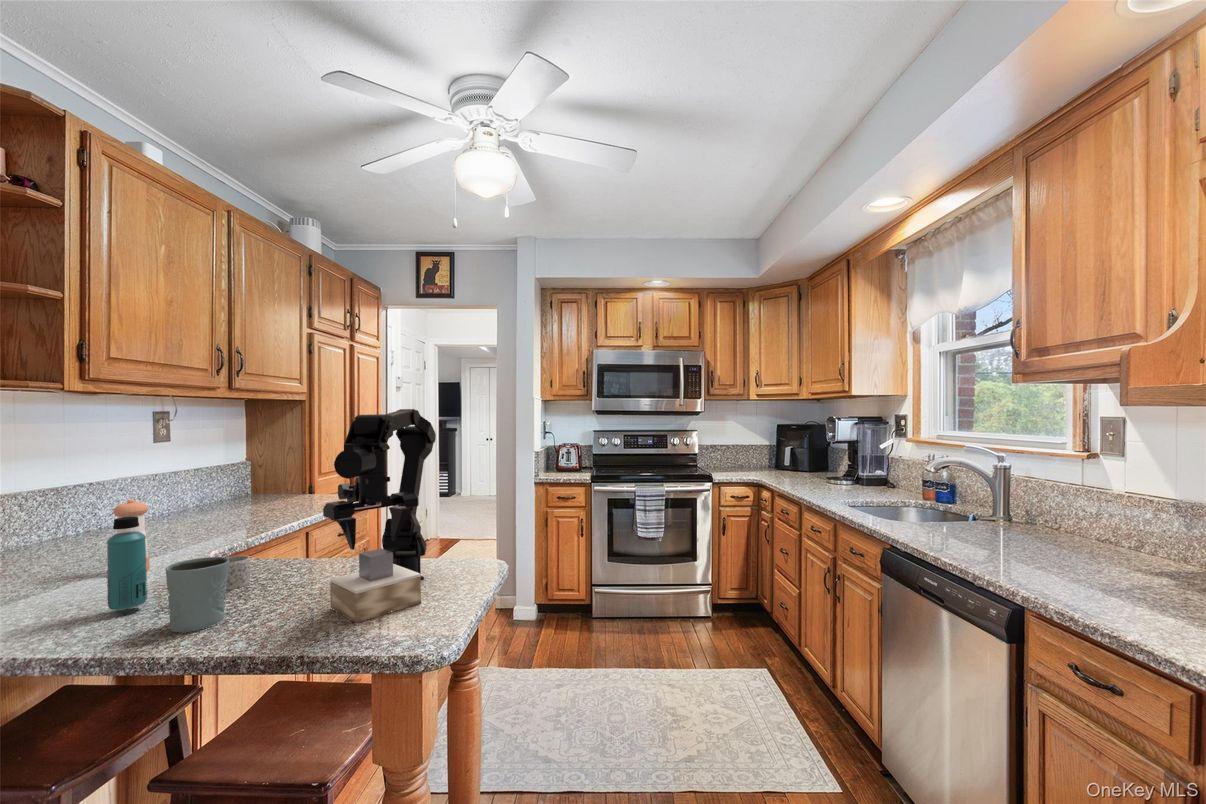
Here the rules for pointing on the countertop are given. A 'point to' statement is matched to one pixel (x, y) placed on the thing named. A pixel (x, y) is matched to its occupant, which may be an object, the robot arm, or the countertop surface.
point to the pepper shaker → (136, 510)
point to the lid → (363, 585)
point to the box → (375, 599)
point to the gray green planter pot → (197, 593)
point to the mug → (238, 572)
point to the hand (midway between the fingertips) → (373, 544)
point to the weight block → (375, 564)
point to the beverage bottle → (126, 566)
